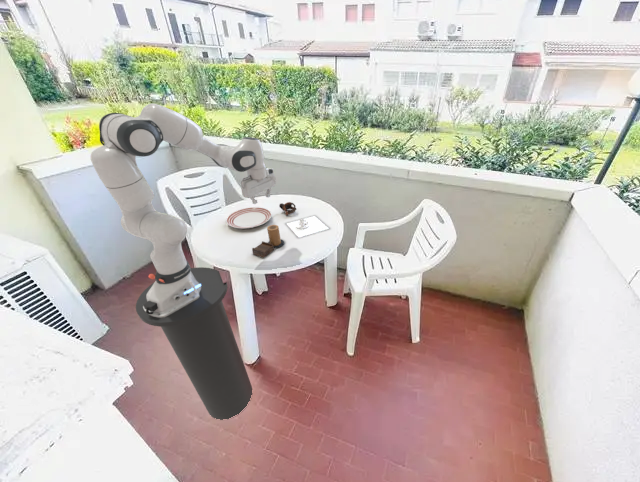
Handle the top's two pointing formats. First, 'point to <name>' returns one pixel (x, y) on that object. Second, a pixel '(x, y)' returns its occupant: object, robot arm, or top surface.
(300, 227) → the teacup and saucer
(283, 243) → the coaster
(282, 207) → the brown openwork ring figurine
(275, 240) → the paper roll
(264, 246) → the roll stand
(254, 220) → the dinner plate
